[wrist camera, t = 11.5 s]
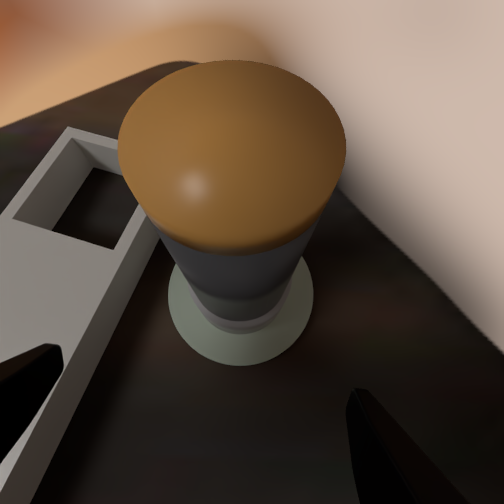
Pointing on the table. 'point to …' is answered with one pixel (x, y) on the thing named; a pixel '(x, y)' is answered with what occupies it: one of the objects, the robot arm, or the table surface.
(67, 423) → the power strip
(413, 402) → the table surface
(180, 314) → the rubber mat
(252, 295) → the plug
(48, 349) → the robot arm
